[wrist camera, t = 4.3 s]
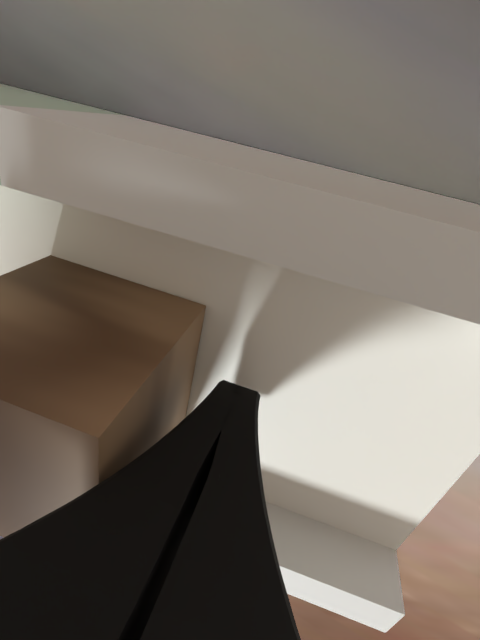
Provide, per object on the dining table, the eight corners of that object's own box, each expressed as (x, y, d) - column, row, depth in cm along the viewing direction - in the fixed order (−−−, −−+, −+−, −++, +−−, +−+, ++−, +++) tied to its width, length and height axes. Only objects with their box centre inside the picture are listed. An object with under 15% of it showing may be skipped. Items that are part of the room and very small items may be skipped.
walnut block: (60, 379, 13) (-80, 500, 9) (50, 255, 10) (-155, 339, 6) (184, 425, 12) (99, 579, 8) (206, 305, 10) (98, 438, 6)
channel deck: (-188, 299, 20) (-334, 345, 15) (-335, -2, 13) (-665, -68, 9) (373, 499, 16) (385, 632, 12) (563, 225, 9) (749, 302, 5)
